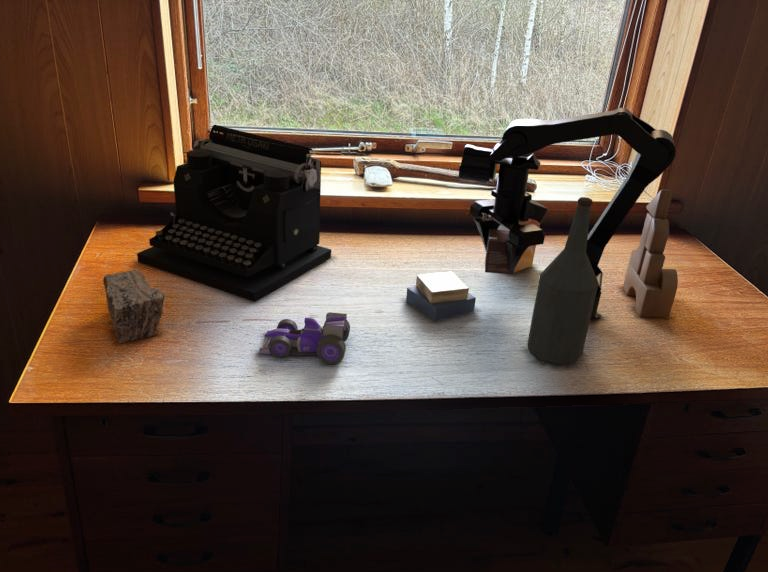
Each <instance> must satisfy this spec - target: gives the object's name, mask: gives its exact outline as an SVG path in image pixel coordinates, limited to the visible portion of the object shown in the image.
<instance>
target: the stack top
mask: <svg viewBox="0 0 768 572" xmlns="http://www.w3.org/2000/svg"><path fill="white" fill-rule="evenodd" d="M415 279H416V280H415V286H416V287H417V288H418V289H419V290H420V291H421V292H422V294H423V295H424V296H425V297H426V298H427V299H428V301H429V302H430V303H439V302H448V301H457V300H465V299H468V293H469V290H470V288H469V287H468V285H466V283H465V282H464V281H463V280H461V278H459V277H458V275H457V274H456V273H455V272H454V271H443V272H433V273H423V274H416V278H415Z"/></svg>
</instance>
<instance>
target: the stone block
mask: <svg viewBox="0 0 768 572" xmlns="http://www.w3.org/2000/svg"><path fill="white" fill-rule="evenodd" d="M102 282H103V286H104V289H105V296H106V305H107V310H108V313H109V316H110V319H111V322H112V325H113V330H114V333H115V336H116V339H117V341H118V343H119V344H124V343H129V342H133V341H137V340H142V339H146V338H151V337H155V336H157V335H158V329H157V326H159V324H160V322H161V318H162V315H163V312H164V311H163V308H164V302H165V298H166V296H165V293H164V292H162V290H160V289H158V288H154V287H152V286H151V285H150V284H149V283H148V279H147V278H146V277H145V276H144V274H142V273H141V271H140V269H132V270H125V271H119V272H113V273H109V274H105V275H104V276H103V281H102Z"/></svg>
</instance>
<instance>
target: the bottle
mask: <svg viewBox="0 0 768 572" xmlns="http://www.w3.org/2000/svg"><path fill="white" fill-rule="evenodd" d="M593 203H594V202H593V199H592V198H590V197H585V196H580V197H579V198H578V199H577V207H576V210H575V213H574V217H573V219H572V223H571V226H570V229H569V233H568V235H567V238H566V242H565V244H564V248H563V249H562V250H561V251H560V253H559V254H558V255H556V256H555V258H554V259H553V260H552V261H551V262H550V263H549V264H548V265H547V266H546V267H545V268H544V270H542V271H541V273H540V274H539V278H538V283H537V289H536V294H535V300H534V305H533V310H532V316H531V320H530V327H529V332H528V337H527V343H526V346H527V350H528V352H529V354H530V355H531V356H533V357H534V358H535V360H536V361H538V362H540V363H543V364H545V365H550V366H557V367H564V366H569V365H574V364H576V362H577V361H579V359H580V357H581V356H582V355H583V353H584V348H585V345H586V340H587V336H588V331H589V327H590V324H591V323H590V322H591V320H590V319H591V314H592V310H593V306H594V301H595V297H596V293H597V288H598V284H599V283H598V281H597V278H596V276H595V273H594V271H593V268H592V266H591V263H590V261H589V258H588V256H587V253H586V248H587V238H588V234H589V229H590V227H589V225H590V220H591V219H590V218H591V217H590V216H591V209H592V208H591V207H592V205H593Z"/></svg>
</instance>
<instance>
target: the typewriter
mask: <svg viewBox="0 0 768 572" xmlns="http://www.w3.org/2000/svg"><path fill="white" fill-rule="evenodd" d="M206 132H207V134H209V135H208V138H205V139H196V140H195V141H194V144H193V147H192V149H191V150H189V151H186V152H185V153H186V163H185V162H184V163H183V164H179V165H176V169H175V173H174V178H173V182H172V183H173V191H174V203H175V213H174V212H173V211H170V216H171V217H173V218H172V219H171V220H170V221H169V222H168V223H167V224H166V225H164V226H163V227H162V229H160V230H156V231H155V235H154V236H153V237H151V238H149V240H148V242H149V246H150V247H149V248H146V249H144V250H141V251H139V252H137V253H136V256H137V257H136V258H137V263H140V264H143V265H145V266H149V267H151V268H154V269H157V270H160V271H163V272H165V273H169V274H172V275H175V276H178V277H180V278H183V279H185V280H188V281H193V282H195V283H197V284H201V285H203V286H207V287H208V288H209V287H210V288H212V289H214V290H218V291H221V292H224V293H227V294H230V295H233V296H236V297H238V298H242V299H244V300H248V301H250V302H253V303H256V302H258V301H259V300H261V299H263V298H265V297H267V296H268V295H270V294H271V293H273V292H275V291H277V290H279V289H280V288H282V287H283V286H286V285H287V284H288V283H290V282H293V280H295V279H297V278H299V277H300V276H303V275H304V274H305V273H307V272H309V271H311V270H312V269H314V268H316V267H317V266H320V265H321V264H323V263H324V262H326V261H328V260H330V259H331V258H332V249H330V248H328V247H324V246H321V245H319V244H320V239H321V238H320V235H321V234H320V233H321V231H320V230H321V190H322V189H321V187H322V161H321V160H320V159H319V158H317V157H313V155H312V153H311V152H313V151H314V149H312V147H308V146H304V145H299V144H296V143H291V142H287V141H283V140H281V139H280V140H279V139H276V138H272V137H267V136H263V135H260V134H259V135H258V134H255V133H251V132H247V131H243V130H239V129H235V128H231V127H226V126H222V125H218V124H213V125H212V127H211V129H207V131H206Z"/></svg>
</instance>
